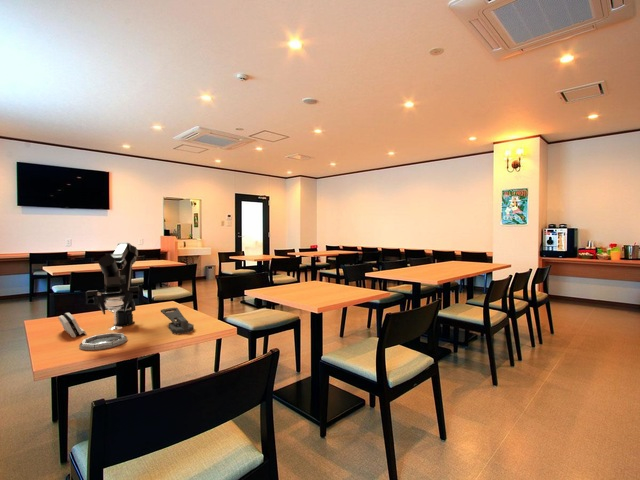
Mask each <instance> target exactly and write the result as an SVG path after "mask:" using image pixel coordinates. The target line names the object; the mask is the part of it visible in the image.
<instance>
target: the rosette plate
mask: <svg viewBox="0 0 640 480" xmlns="http://www.w3.org/2000/svg"><path fill="white" fill-rule="evenodd" d="M127 341H128V337H127V336H126V335H125V334H124V333H121V332H120V333H119V332H108V333H102V334H95V335H91V336H89V337H87V338H83V339H82V342H81V343H80V344H79V346H78V347H79V350H81V351H86V352H89V351H90V352H91V351H102V350H107V349H112V348H116V347H119V346H122V345H123V344H126V343H127Z"/></svg>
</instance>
